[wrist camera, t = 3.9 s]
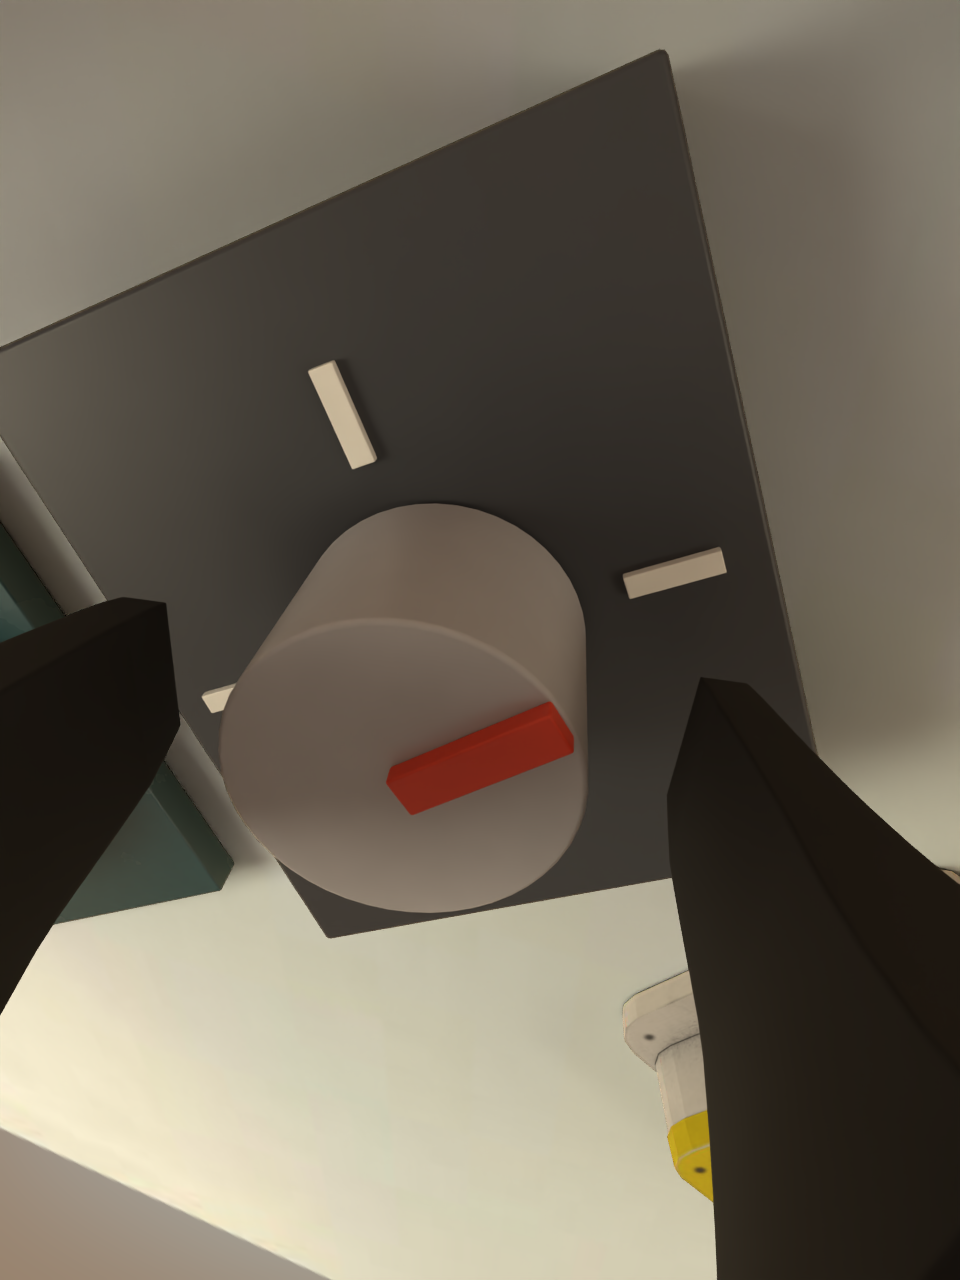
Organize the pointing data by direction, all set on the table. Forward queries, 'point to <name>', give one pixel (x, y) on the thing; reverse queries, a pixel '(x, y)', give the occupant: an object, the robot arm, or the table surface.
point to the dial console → (442, 432)
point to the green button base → (162, 820)
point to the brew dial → (417, 715)
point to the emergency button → (677, 1069)
